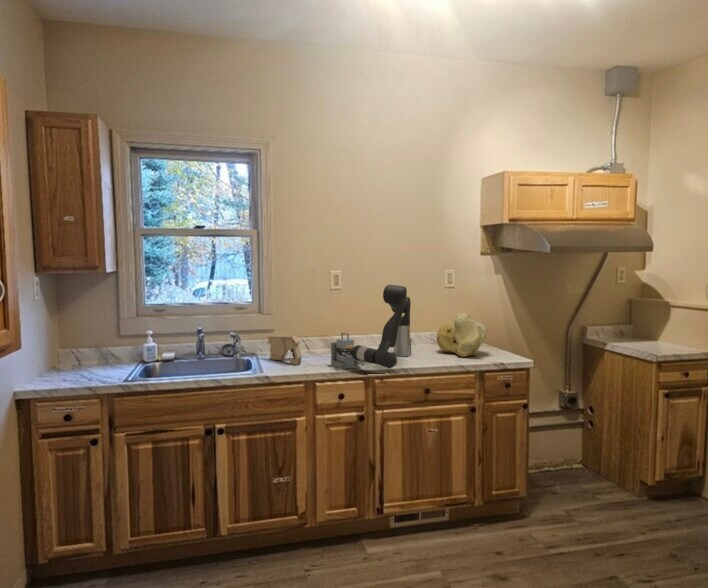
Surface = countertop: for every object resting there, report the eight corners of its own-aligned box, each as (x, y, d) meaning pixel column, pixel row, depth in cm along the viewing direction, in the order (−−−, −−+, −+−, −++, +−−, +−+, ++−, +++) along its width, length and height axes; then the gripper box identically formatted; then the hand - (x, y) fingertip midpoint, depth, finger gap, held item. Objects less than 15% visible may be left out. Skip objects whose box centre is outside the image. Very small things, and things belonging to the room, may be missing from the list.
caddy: (345, 364, 262) (345, 331, 261) (354, 366, 257) (354, 333, 256) (336, 366, 259) (336, 333, 257) (345, 368, 253) (344, 334, 252)
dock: (346, 363, 265) (346, 340, 264) (358, 366, 258) (357, 343, 257) (331, 365, 259) (330, 342, 258) (342, 369, 251) (342, 345, 250)
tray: (366, 358, 278) (366, 352, 277) (381, 362, 267) (381, 356, 267) (348, 361, 270) (348, 355, 270) (364, 365, 260) (364, 359, 260)
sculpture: (459, 329, 264) (434, 305, 290) (452, 371, 275) (429, 344, 301) (500, 324, 272) (472, 301, 298) (492, 365, 282) (465, 340, 308)
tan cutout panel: (302, 364, 262) (300, 335, 262) (298, 365, 260) (295, 336, 260) (273, 362, 279) (271, 335, 279) (269, 363, 277) (267, 336, 276)
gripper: (374, 344, 250) (353, 340, 263) (351, 348, 241) (330, 343, 254) (374, 359, 251) (353, 354, 264) (351, 363, 242) (331, 358, 255)
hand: (342, 349), depth 259 cm, fingers closed on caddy, 6 cm apart
